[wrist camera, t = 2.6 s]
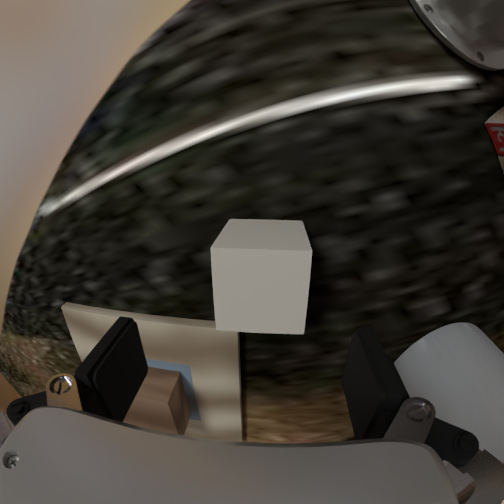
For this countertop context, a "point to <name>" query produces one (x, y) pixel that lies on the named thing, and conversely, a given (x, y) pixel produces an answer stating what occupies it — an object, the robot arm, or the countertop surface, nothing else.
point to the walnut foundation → (160, 403)
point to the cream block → (261, 276)
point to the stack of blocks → (497, 133)
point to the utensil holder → (460, 381)
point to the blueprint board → (179, 362)
